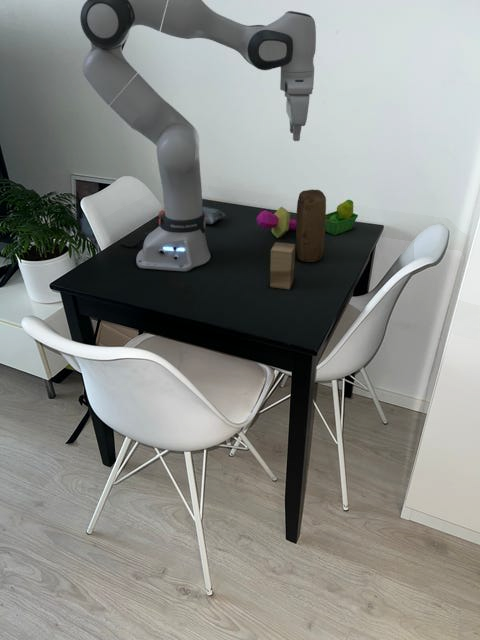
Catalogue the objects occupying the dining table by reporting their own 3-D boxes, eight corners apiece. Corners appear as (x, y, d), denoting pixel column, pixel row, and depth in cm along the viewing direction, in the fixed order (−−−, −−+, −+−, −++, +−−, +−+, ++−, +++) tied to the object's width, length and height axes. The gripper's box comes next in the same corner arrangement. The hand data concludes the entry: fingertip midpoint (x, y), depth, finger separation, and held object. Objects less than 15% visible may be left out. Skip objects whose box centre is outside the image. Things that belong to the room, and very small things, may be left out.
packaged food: (213, 229, 175) (212, 215, 172) (184, 223, 180) (183, 209, 177) (226, 221, 181) (225, 207, 179) (198, 215, 186) (197, 202, 184)
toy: (310, 241, 167) (314, 210, 166) (261, 233, 160) (265, 200, 159) (295, 242, 176) (299, 212, 175) (248, 234, 169) (252, 203, 168)
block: (323, 263, 151) (329, 198, 141) (298, 264, 151) (302, 199, 140) (316, 248, 160) (320, 185, 150) (292, 249, 160) (295, 186, 149)
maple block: (289, 289, 138) (291, 252, 132) (270, 287, 139) (270, 250, 133) (293, 280, 142) (295, 244, 136) (274, 278, 144) (275, 242, 138)
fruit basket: (340, 222, 178) (343, 191, 172) (360, 230, 172) (364, 197, 166) (318, 230, 172) (320, 198, 166) (337, 238, 167) (340, 205, 160)
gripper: (282, 77, 144) (280, 128, 151) (288, 88, 127) (286, 145, 134) (304, 77, 144) (301, 128, 151) (313, 88, 127) (310, 145, 134)
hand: (294, 136), depth 142 cm, fingers open, 8 cm apart
